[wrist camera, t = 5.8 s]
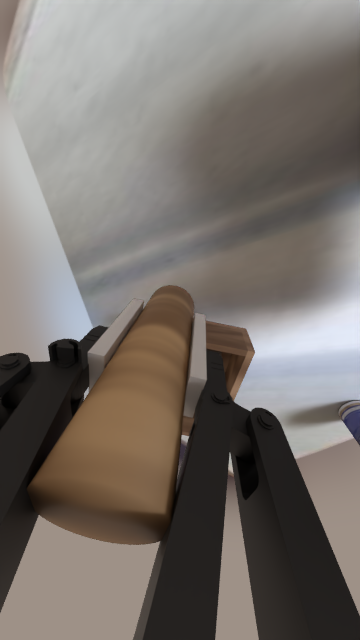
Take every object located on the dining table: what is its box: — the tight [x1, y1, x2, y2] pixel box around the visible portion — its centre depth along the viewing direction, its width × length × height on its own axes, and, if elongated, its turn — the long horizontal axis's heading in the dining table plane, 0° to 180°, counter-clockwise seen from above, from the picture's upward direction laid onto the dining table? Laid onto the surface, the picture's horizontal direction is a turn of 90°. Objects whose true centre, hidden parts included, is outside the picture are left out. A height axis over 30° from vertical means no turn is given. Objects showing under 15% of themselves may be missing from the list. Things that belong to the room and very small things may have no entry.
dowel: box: [27, 285, 194, 545], centre depth 11 cm, size 4×4×14 cm
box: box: [182, 318, 255, 436], centre depth 35 cm, size 22×16×6 cm
